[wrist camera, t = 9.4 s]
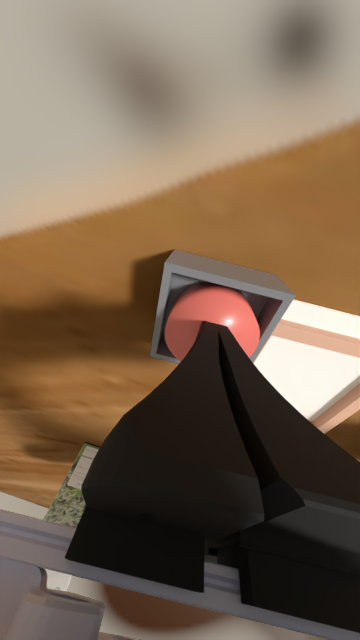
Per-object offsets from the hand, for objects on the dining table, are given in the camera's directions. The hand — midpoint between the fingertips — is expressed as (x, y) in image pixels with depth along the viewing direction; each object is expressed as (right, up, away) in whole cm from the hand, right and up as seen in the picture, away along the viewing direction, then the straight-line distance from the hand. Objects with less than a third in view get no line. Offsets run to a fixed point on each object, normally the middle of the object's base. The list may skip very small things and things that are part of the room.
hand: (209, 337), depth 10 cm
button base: (0, +2, +3) cm, 4 cm away
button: (0, +1, +2) cm, 2 cm away
